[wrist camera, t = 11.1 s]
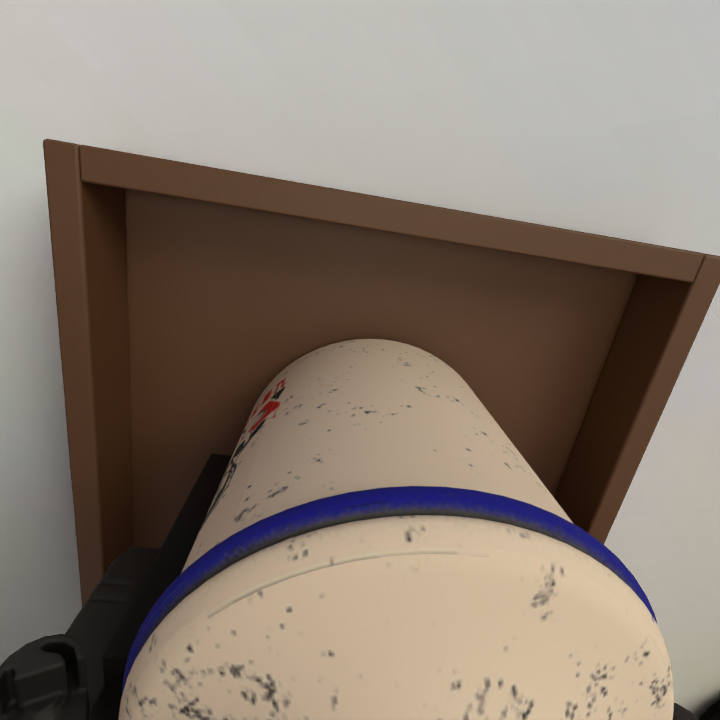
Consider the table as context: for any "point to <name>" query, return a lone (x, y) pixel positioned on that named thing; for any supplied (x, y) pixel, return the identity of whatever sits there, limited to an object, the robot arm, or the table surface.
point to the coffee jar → (712, 713)
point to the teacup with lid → (392, 569)
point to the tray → (338, 327)
